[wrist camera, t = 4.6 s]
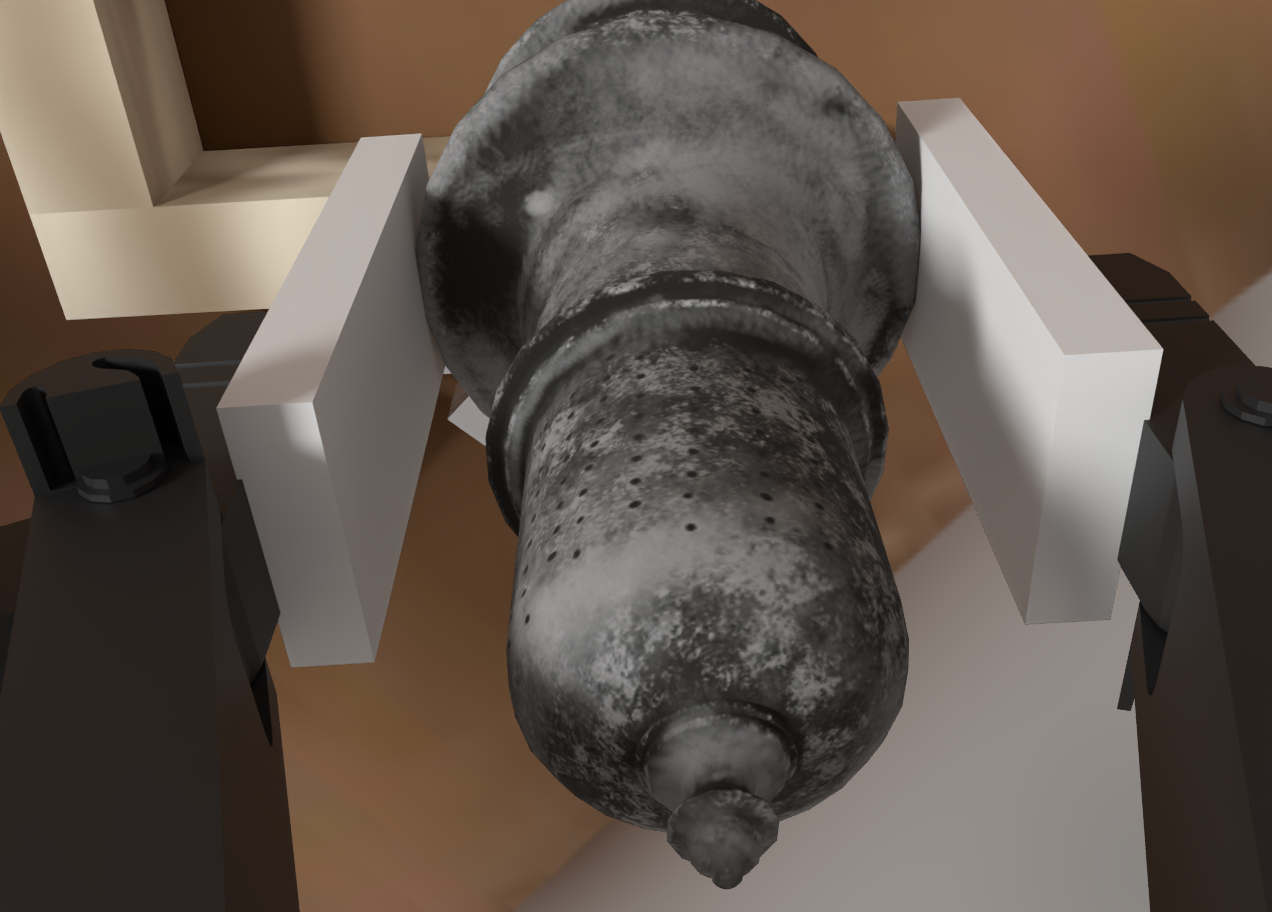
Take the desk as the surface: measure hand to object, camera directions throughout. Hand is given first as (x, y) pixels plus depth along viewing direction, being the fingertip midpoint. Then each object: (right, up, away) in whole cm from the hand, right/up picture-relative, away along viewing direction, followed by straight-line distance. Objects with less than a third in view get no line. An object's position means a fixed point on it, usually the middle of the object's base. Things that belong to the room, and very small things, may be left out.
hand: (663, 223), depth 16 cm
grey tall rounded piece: (0, +1, +2) cm, 2 cm away
